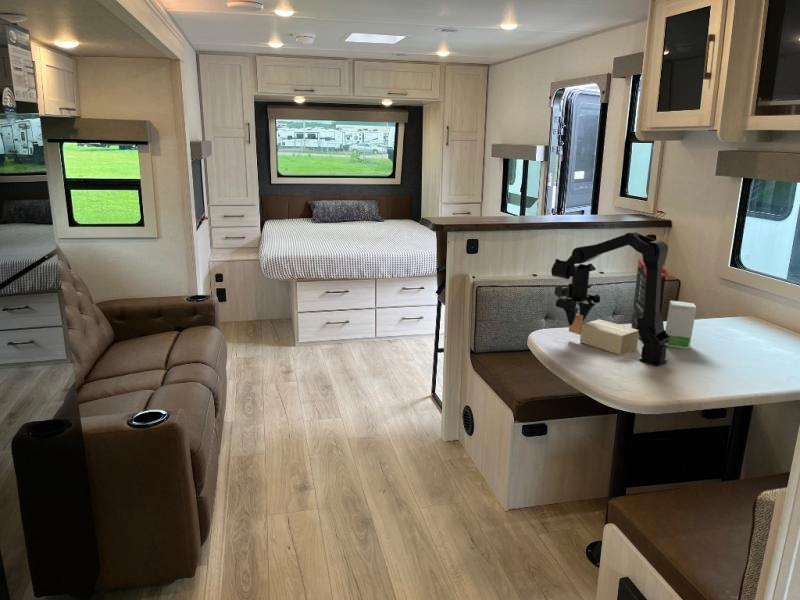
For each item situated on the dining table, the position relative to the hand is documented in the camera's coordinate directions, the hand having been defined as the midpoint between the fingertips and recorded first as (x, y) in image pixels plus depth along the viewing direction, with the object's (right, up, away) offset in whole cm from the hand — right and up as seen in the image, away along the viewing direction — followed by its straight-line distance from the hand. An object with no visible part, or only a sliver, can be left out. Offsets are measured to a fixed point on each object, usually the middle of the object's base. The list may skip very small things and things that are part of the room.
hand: (575, 323), depth 214 cm
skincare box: (+36, -8, -1) cm, 37 cm away
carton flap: (+5, -8, -5) cm, 10 cm away
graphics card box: (+29, -5, +11) cm, 31 cm away
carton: (+11, -8, -3) cm, 14 cm away
